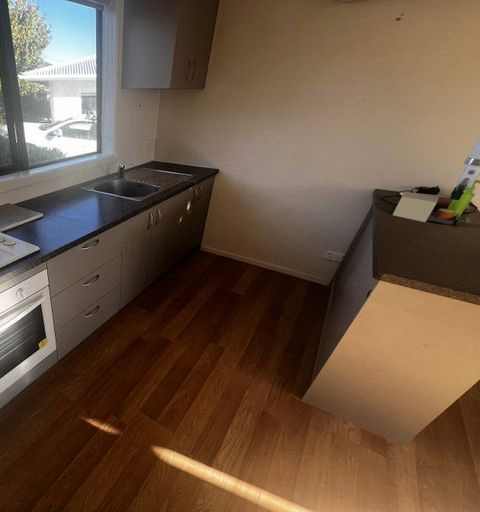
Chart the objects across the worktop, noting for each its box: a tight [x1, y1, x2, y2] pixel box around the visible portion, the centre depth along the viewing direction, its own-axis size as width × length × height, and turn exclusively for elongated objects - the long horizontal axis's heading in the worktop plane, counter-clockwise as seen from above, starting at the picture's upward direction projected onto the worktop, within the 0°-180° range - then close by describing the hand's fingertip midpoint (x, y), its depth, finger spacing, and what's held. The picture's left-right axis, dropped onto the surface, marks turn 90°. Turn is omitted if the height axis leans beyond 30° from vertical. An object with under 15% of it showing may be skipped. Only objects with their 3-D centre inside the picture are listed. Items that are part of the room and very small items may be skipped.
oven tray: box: [426, 211, 471, 227], centre depth 149 cm, size 16×14×3 cm
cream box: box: [392, 191, 440, 223], centre depth 156 cm, size 13×14×11 cm
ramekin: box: [434, 208, 457, 221], centre depth 149 cm, size 6×6×5 cm
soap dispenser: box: [446, 179, 480, 217], centre depth 153 cm, size 6×7×20 cm
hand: (454, 197), depth 145 cm, fingers open, 9 cm apart
